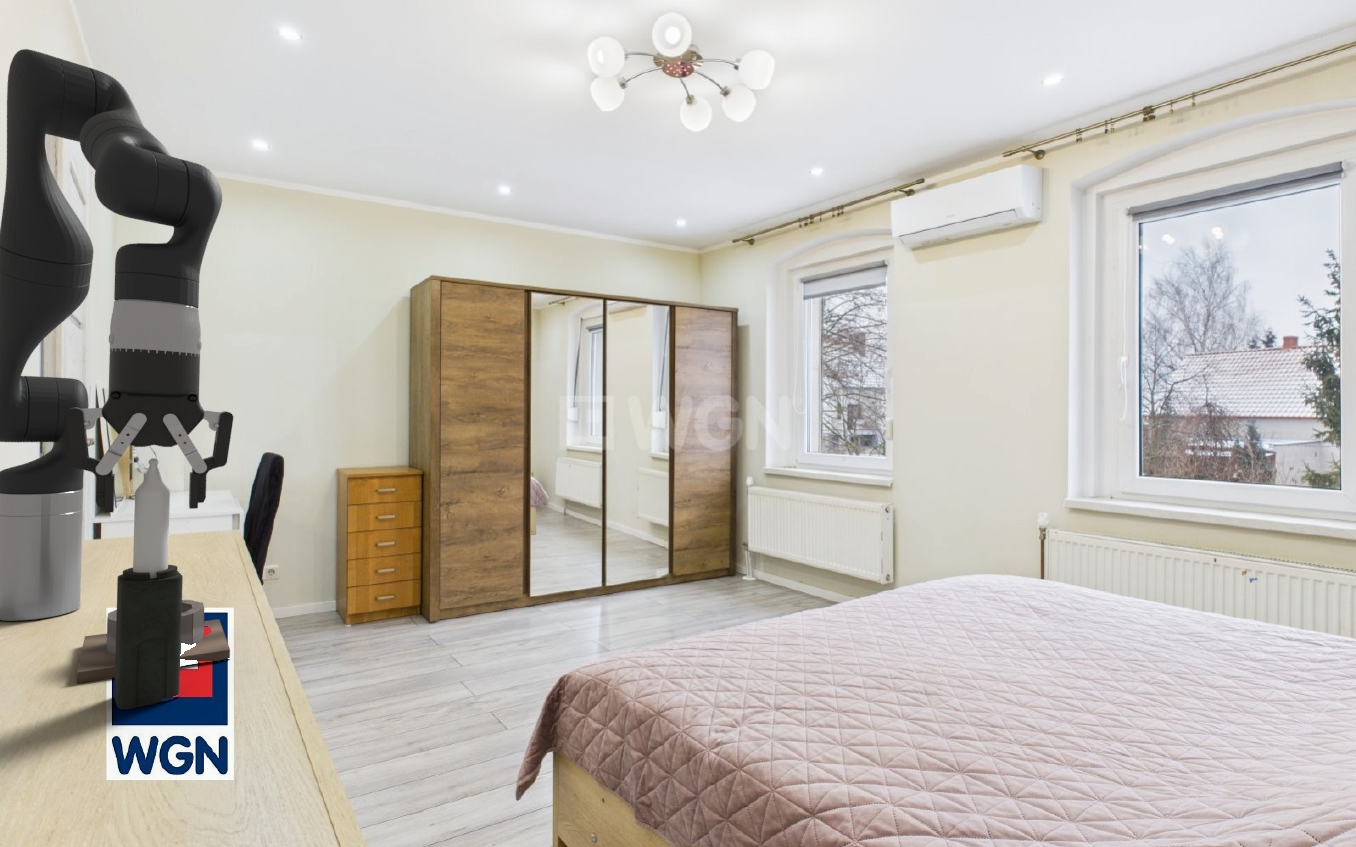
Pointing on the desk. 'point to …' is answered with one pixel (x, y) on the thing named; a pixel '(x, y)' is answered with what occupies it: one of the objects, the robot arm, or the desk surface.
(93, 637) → the holder
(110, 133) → the robot arm
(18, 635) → the desk surface
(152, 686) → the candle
